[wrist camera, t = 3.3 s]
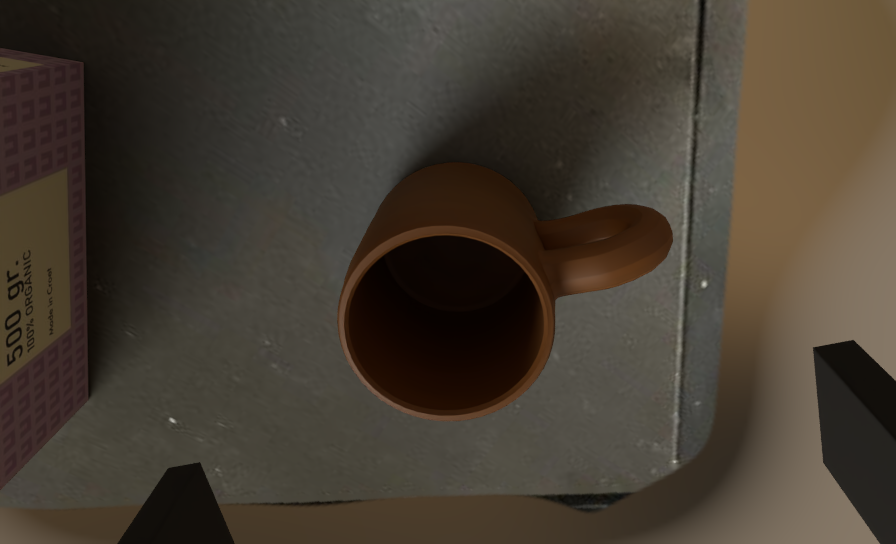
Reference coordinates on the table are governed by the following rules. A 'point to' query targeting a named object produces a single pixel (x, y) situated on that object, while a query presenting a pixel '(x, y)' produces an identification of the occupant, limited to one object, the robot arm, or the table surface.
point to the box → (41, 252)
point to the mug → (476, 287)
